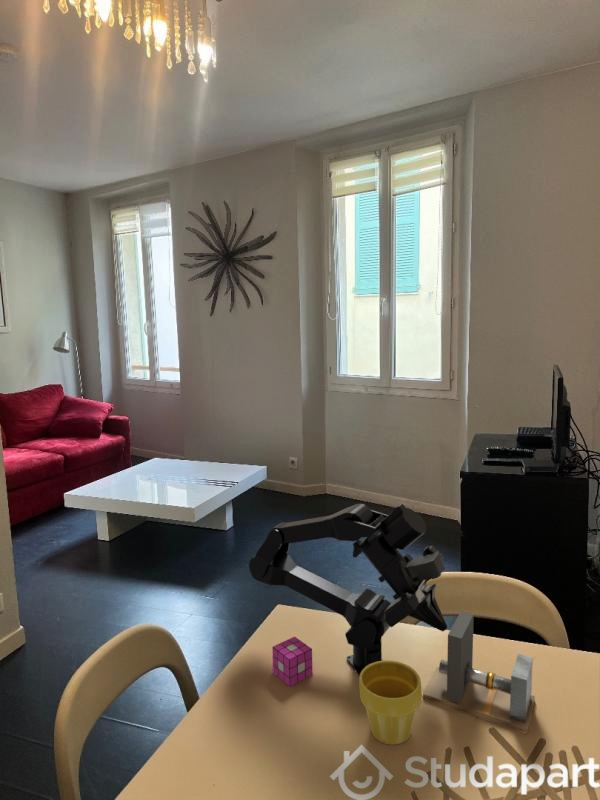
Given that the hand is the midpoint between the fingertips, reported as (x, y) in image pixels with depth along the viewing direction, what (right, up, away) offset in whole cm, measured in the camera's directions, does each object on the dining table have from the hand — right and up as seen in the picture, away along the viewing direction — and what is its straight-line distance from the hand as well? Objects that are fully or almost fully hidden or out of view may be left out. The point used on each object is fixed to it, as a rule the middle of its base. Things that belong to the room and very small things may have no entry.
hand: (445, 629), depth 103 cm
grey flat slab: (+3, -11, 0) cm, 11 cm away
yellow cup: (-12, -14, -8) cm, 20 cm away
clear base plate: (+6, -12, -1) cm, 14 cm away
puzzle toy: (-28, -12, +7) cm, 32 cm away
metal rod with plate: (+6, -11, -2) cm, 13 cm away
